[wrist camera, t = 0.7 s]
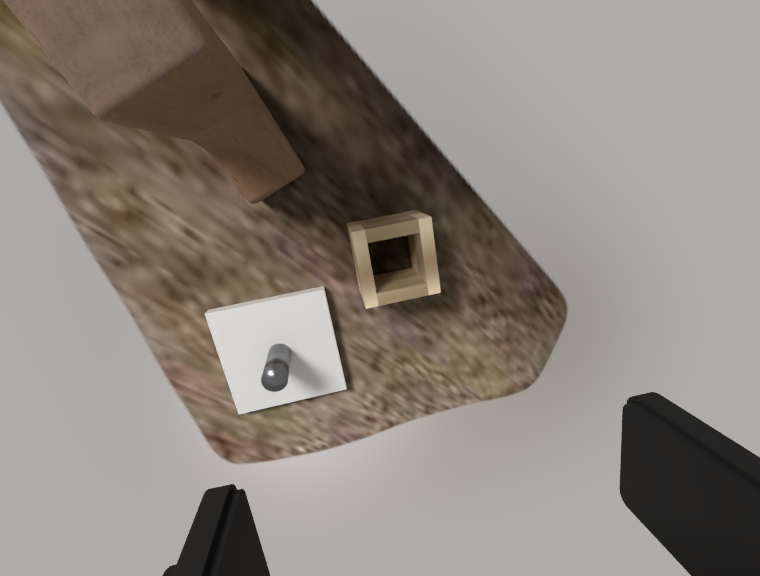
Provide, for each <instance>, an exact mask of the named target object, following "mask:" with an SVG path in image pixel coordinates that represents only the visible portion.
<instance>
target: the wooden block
mask: <svg viewBox="0 0 760 576" xmlns="http://www.w3.org/2000/svg"><path fill="white" fill-rule="evenodd" d="M4 1H5V3H6V4H7V5H8V6H9V8H10V9H11V10H12V11H13V13H14V14H15V15H16V16H17V18H18V19H19V20H20V22H21V23H22V24H23V25H24V27H25V28H26V29H27V30H28V32H29V33H30V34H31V35H32V37H33V38H34V39H35V40H36V42H37V43H38V44H39V45H40V47H41V48H42V49H43V51H44V52H45V53H46V54H47V56H48V57H49V58H50V59H51V61H52V62H53V63H54V64H55V66H56V67H57V68H58V69H59V71H60V72H61V73H62V74H63V76H64V77H65V78H66V80H67V81H68V82H69V83H70V85H71V86H72V87H73V88H74V90H75V91H76V92H77V93H78V95H79V96H80V97H81V98H82V100H83V101H84V102H85V103H86V105H87V106H88V107H89V108H90V110H91V111H92V112H93V114H94V115H96V116H97V117H99V118H100V119H102V120H103V121H107V122H111V123H116V124H120V125H124V126H129V127H133V128H138V129H142V130H147V131H151V132H155V133H160V134H164V135H169V136H173V137H178V138H182V139H186V140H191V141H193V142H195V143H196V144H198V145H199V146H201V147H202V148H204V149H205V150H206V151H207V152H208V153H209V154H210V155H211V157H212V158H213V159H214V160H215V161H216V162H217V163H218V164H219V165H220V166H221V167H222V168H223V169H224V170H225V171H226V173H227V174H228V175H229V177H230V178H231V179H232V181H233V182H234V183H235V185H236V186H237V187H238V189H239V190H240V191H241V193H242V194H243V195H244V197H245V198H246V199H247V200H248V202H250V203H252V204H254V203H258V202H260V201H261V200H263V199H265V198H266V197H268V196H270V195H271V194H273V193H274V192H276V191H277V190H279V189H281V188H282V187H284V186H285V185H287V184H288V183H290V182H292V181H293V180H295V179H296V178H298V177H299V176H301V175H303V173H304V172H305V168H304V166H303V164H302V163H301V161H300V159H299V158H298V156H297V155H296V153H295V152H294V150H293V148H292V147H291V145H290V144H289V142H288V141H287V139H286V137H285V136H284V134H283V133H282V131H281V129H280V128H279V126H278V125H277V123H276V122H275V120H274V118H273V117H272V115H271V114H270V112H269V111H268V109H267V107H266V106H265V104H264V103H263V101H262V100H261V98H260V96H259V95H258V93H257V92H256V90H255V89H254V87H253V85H252V84H251V82H250V81H249V79H248V77H247V76H246V74H245V73H244V71H243V70H242V68H241V66H240V65H239V63H238V62H237V61H236V59H235V58H234V57H233V55H232V54H231V53H230V51H229V50H228V49H227V47H226V46H225V45H224V43H223V42H222V41H221V39H220V38H219V37H218V35H217V34H216V33H215V31H214V30H213V29H212V27H211V26H210V25H209V24H208V22H207V21H206V20H205V18H204V17H203V16H202V14H201V13H200V12H199V10H198V9H197V8H196V6H195V5H194V4H193V2H192V1H191V0H4Z"/></svg>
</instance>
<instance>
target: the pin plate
mask: <svg viewBox="0 0 760 576" xmlns="http://www.w3.org/2000/svg"><path fill="white" fill-rule="evenodd" d="M205 316H206V319H207V322H208V325H209V328H210V331H211V334H212V337H213V340H214V343H215V346H216V349H217V352H218V355H219V358H220V361H221V364H222V367H223V370H224V372H225V375H226V378H227V381H228V384H229V387H230V390H231V393H232V396H233V399H234V402H235V405H236V408H237V411H238V414H243V413H247V412H252V411H256V410H260V409H265V408H269V407H273V406H277V405H282V404H286V403H290V402H295V401H299V400H303V399H307V398H312V397H316V396H320V395H325V394H329V393H333V392H337V391H342V390H346V389H347V387H346V381H345V377H344V372H343V368H342V364H341V359H340V355H339V350H338V346H337V342H336V337H335V333H334V328H333V324H332V320H331V315H330V311H329V306H328V302H327V297H326V293H325V289H324V286H321V287H316V288H312V289H307V290H302V291H297V292H292V293H287V294H283V295H278V296H273V297H268V298H263V299H258V300H254V301H249V302H244V303H239V304H234V305H229V306H225V307H220V308H215V309H210V310H208V311H207V312H206V313H205Z"/></svg>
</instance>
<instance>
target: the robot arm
mask: <svg viewBox="0 0 760 576" xmlns="http://www.w3.org/2000/svg"><path fill="white" fill-rule="evenodd" d="M620 494H621V497H622V499H623V501H624V503H625V504H626V506H627V507H628V508H629V509H630V510H631V512H632V513H633V514H634V515H635V516H636V517H637V518H638V519H639V520H640V521H641V522H642V523H643V524H644V525H645V526H646V528H647V529H648V530H649V531H650V532H651V533H652V534H653V535H654V536H655V537H656V538H657V539H658V540H659V542H660V543H661V544H662V545H663V546H664V547H665V548H666V549H667V550H668V551H669V552H670V553H671V554H672V555H673V557H674V558H675V559H676V560H677V561H678V562H679V563H680V564H681V565H682V566H683V567H684V568H685V569H686V570H687V572H688V573H689V574H690V575H691V576H760V458H759V457H758V456H756V455H755V454H753V453H752V452H750V451H748V450H747V449H745V448H744V447H742V446H741V445H739V444H737V443H736V442H734V441H733V440H731V439H729V438H728V437H726V436H725V435H723V434H722V433H720V432H718V431H717V430H715V429H714V428H712V427H710V426H709V425H707V424H706V423H704V422H702V421H701V420H699V419H698V418H696V417H695V416H693V415H691V414H690V413H688V412H687V411H685V410H683V409H682V408H680V407H679V406H677V405H676V404H674V403H672V402H670V401H669V400H668V399H666V398H664V397H663V396H661V395H660V394H657V393H654V392H651V393H646V394H642V395H637V396H633V397H630V398H629V399H628V400H627V404H626V405H624V407H623V415H622V443H621V471H620ZM163 576H270V573H269V570H268V566H267V563H266V560H265V556H264V553H263V550H262V547H261V543H260V540H259V536H258V533H257V530H256V526H255V523H254V520H253V516H252V513H251V510H250V507H249V503H248V500H247V497H246V493H245V491H244V490H243V489H240V490H237V489H236V486H235V485H234V484H230V485H226V486H222V487H217V488H212V489H208V490H207V491H206V492H205V494H204V496H203V498H202V501H201V503H200V506H199V508H198V511H197V513H196V516H195V519H194V522H193V524H192V526H191V529H190V531H189V534H188V537H187V539H186V542H185V544H184V547H183V550H182V552H181V555H180V557H179V560H178V562H177V565H173V566H170V567H169V568H168V569H167V570H166V571H165V572H164V574H163Z"/></svg>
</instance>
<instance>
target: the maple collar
mask: <svg viewBox="0 0 760 576" xmlns="http://www.w3.org/2000/svg"><path fill="white" fill-rule="evenodd" d="M347 228H348V233H349V239H350V244H351V249H352V254H353V259H354V264H355V269H356V274H357V279H358V284H359V290H360V292H361V295H362V298H363V301H364V304H365V307H366V309H367V308H372V307H377V306H381V305H386V304H391V303H395V302H400V301H404V300H409V299H414V298H418V297H423V296H428V295H432V294H437V293H441V289H440V281H439V273H438V265H437V257H436V249H435V242H434V234H433V226H432V218H431V216H428V215H426V214H424V213H421V212H419V211H417V210H412V211H407V212H402V213H397V214H391V215H386V216H381V217H376V218H371V219H365V220H360V221H355V222H350V223H347ZM406 235H407V236H408V243H409V250H410V257H411V264H412V268H408V269H403V270H399V271H394V272H389V273H384V274H379V275H374V276H373V272H372V266H371V261H370V255H369V250H368V244H367V243H370V242H375V241H381V240H386V239H391V238H396V237H401V236H406Z"/></svg>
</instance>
